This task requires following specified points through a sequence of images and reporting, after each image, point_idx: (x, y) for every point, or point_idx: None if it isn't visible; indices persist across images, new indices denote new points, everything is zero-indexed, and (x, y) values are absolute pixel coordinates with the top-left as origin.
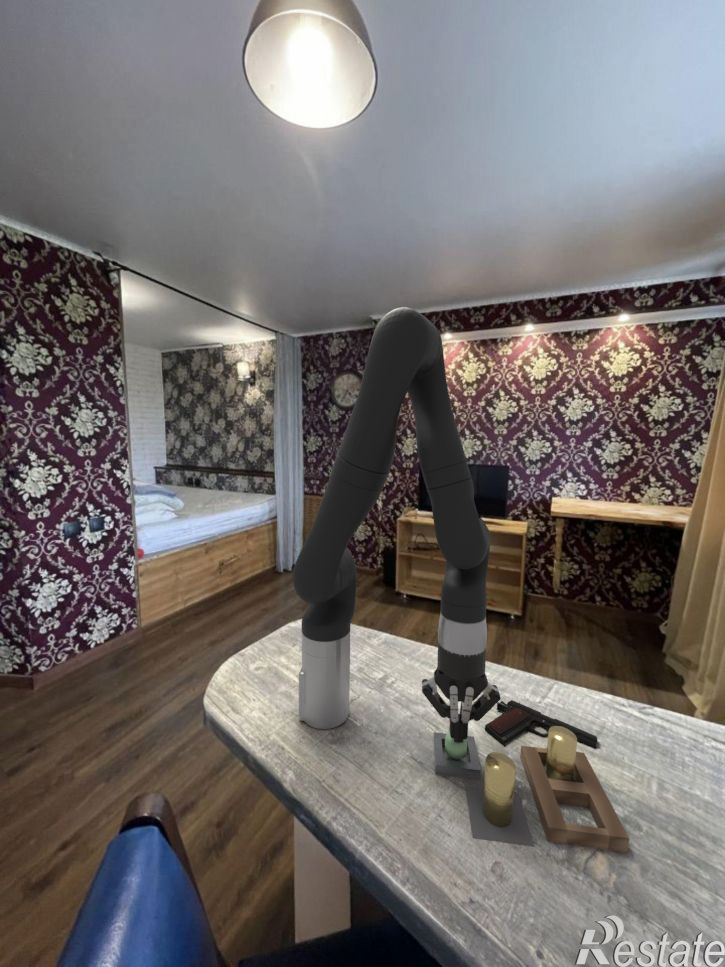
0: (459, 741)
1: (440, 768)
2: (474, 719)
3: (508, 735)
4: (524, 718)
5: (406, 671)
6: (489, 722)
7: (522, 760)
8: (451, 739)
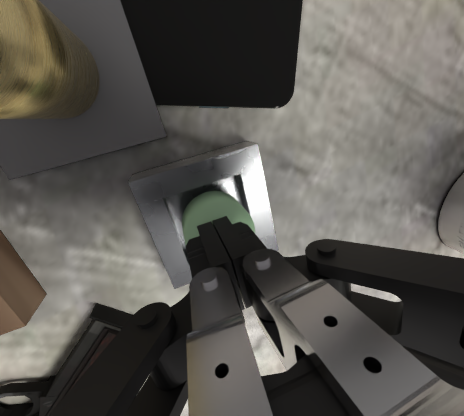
0: (210, 221)
1: (241, 146)
2: (161, 305)
3: (87, 342)
4: None
5: None
6: None
7: (27, 287)
8: None
